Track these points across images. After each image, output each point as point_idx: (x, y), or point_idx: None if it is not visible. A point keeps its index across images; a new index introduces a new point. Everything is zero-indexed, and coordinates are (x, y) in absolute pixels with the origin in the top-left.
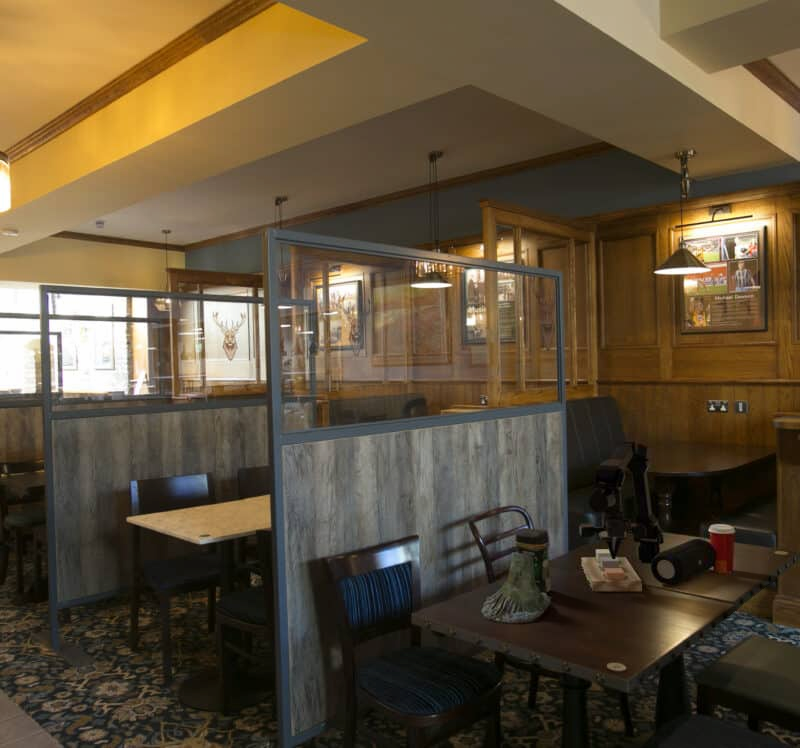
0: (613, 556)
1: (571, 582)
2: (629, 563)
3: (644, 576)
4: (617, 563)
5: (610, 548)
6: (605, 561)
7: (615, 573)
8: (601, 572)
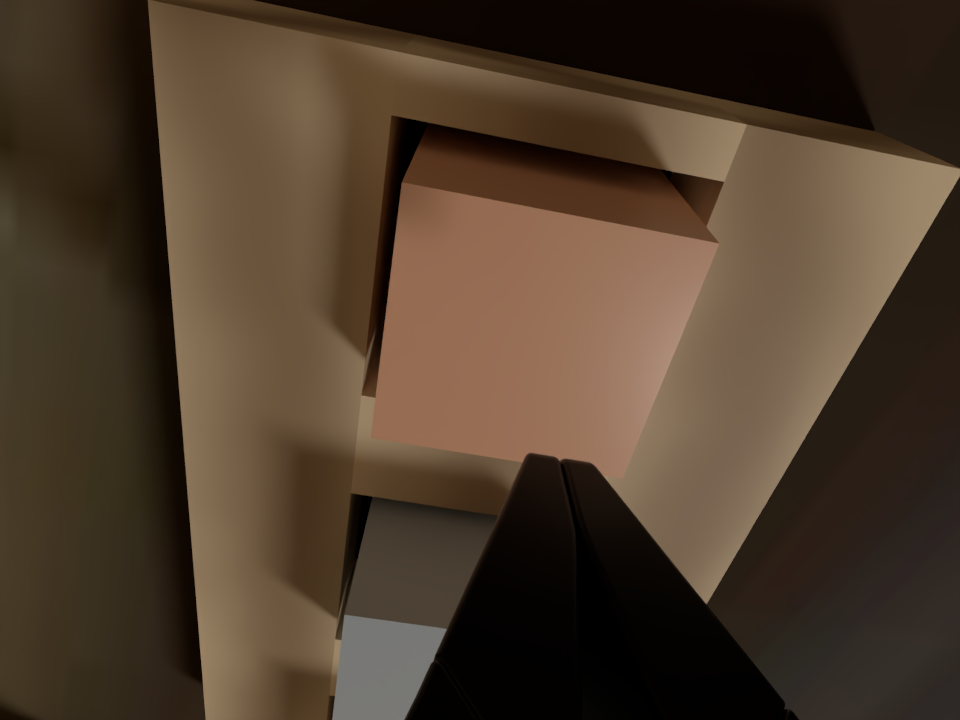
0: (577, 497)
1: (888, 467)
2: (203, 670)
3: (116, 496)
4: (372, 587)
5: (750, 718)
6: None
7: (565, 211)
8: None
